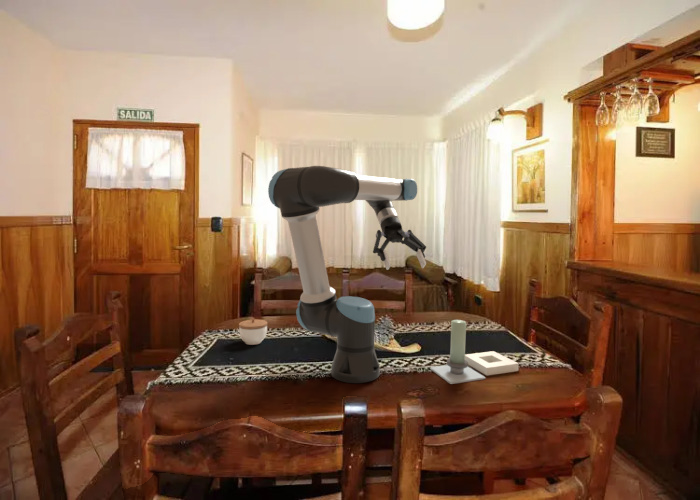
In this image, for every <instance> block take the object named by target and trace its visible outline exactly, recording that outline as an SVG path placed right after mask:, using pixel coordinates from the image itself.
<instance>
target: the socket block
mask: <svg viewBox="0 0 700 500" xmlns="http://www.w3.org/2000/svg"><path fill="white" fill-rule="evenodd" d="M465 360H466V361H467V362H468V366H470V368H471V367H472V369H474V370H475V371H477V372H479V373H480V374H481V373H482V375H485V376H494V375H499V374H506V373H514V372H518V371H519V363H518V362H516V361H514V360H512V359H511V358H509V357H506V356H505V355H502V354H500V353H499V352H496V351H494V350H492V351H490V350H489V351H484V352H476V353H468V354H466V353H465Z"/></svg>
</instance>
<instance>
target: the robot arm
mask: <svg viewBox="0 0 700 500" xmlns="http://www.w3.org/2000/svg"><path fill="white" fill-rule="evenodd" d="M267 192H268V193H267V194H268V199H269V201H270V203H271V204H272V205H274V207H276V208H277V209H279V210H280V214H281V215H280V216H281V218H283V219H284V220H285V221H286V222H287V223H288V229H289V232H290V237H291V240H292V241H291V243H292V246H293V250H294V254H295V259H296V264H297V269H298V273H299V278H300V282H301V283H300V284H301V287H302V291H303V292H302V293H301V294H300V297H299V298H300V299H299V301H298V302H297V305H296V306H297V308H296V310H295V311H296V312H295V313H296V314H295V315H296V319H297V322H298V324H299V325H300V326H301V327H302V328H303V329H305V330H307V331H309V332H311V333H316V334H317V333H318V334H321V335H325V336H328V337H329V336H330V337H334V338H336V351H335V353H334V357H333V360H332V363H331V369H330V372H331V376H332V378H334V379H335V380H336V381H340V382H343V383H349V384H365V383H369V382H373V381H375V380H377V379H378V378H379V376H380V374H381V372H380V371H381V368H380V364H379V360H378V358H377V357H378V356H377V353H376V351H375V329H376V328H375V327H376V326H375V324H376V323H375V321H376V315H375V306H374V304H373V303H372V301H370V300H368V299H366V298H362V297H359V296H350V295H347V296H346V295H345V296H340V297H338V298H337V294H336V289H335V288H333V287H332V286H330V283H329V282H330V281H329V277H328V271H327V266H326V261H325V256H324V251H323V247H322V241H321V237H320V231H319V226H318V221H317V214H318V213H319V212H320V208H321V207H328V206H333V205H339V204H340V205H341V204H350V203H353V202H354V201H365V202H366V203H367V204H368V205H369V206H370V207H371V209H373V210H374V213H375V216H376V218H377V221H378V224H379V226H380V229H377V231H376V234H375V242H374V246H373V250H372V253H373V254H376V255H377V256H378V257H379V259H380V261H382V262H383V264H384V266H385V269H386V271H388V270H389V269H390V268H391V266H392V263H391V261H390V258H389V256H388V253H387V250H386V248H387V246H388V245H389V243H393V244H394V243H398V244H399V243H401V244H402V245H405V246H407V247H408V248H410V249H411V250H412V251H414V252H415V255H416V258H417V259H418V262H419V264H420V267H421V269H424V268H425V266H426V265H427V261H426V259H425V257H426V255H425V253H424V252H425V250H426V249H427V246H426V244H424V243H423V242H422V241H421V240H420V239H419V238H418V237H417V236H416V235H415V234H414V232H412V230H411V229H408V230H406V231H404V230H403V225H402V223H401V221H400V219H399V216H398V213H397V211H396V209H395V207H394V205H393V202H394V201H397V202H398V201H404V202H405V201H412V200H414V199H416V197H417V194H418V185H417V181H416V180H415V179H413V178H391V177H384V176H381V177H380V176H373V175H364V174H356V173H355V172H354V171H353V170H349V169H342V168H336V167H331V166H324V165H311V166H301V167H288V168H285V169H281V170H278V171H276V172H275V173H274V174H273V176H272V177H271V179H270V181H269V184H268V190H267ZM392 201H393V202H392ZM382 237H383V238H385V240H384V242H383V243H382V244H381V246H380V241H381V238H382ZM379 246H380V247H379Z"/></svg>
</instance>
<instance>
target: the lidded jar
mask: <svg viewBox="0 0 700 500" xmlns="http://www.w3.org/2000/svg"><path fill="white" fill-rule="evenodd" d="M238 330H239V331H238V332H239V336H240V339H241V340H242V341H243V342H244V344H246V345H250V346H251V345H252V346H253V345H259V344H262V343H263V342H262V341H264V339H265V338H266V336H267V333H268V332H267V331H268V321H267V320H265V319H256V318H251V319H248V320H247V319H246V320H243V321H241V322H239V323H238Z"/></svg>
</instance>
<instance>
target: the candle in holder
mask: <svg viewBox="0 0 700 500" xmlns="http://www.w3.org/2000/svg"><path fill="white" fill-rule="evenodd" d="M450 322H451V323H450V325H451V326H450V328H451V329H450V350H449V351H450V352H449V354H450V355H449V358H447V359H446V365H448V366H450V372H451V373H453V374H457V375H461V374H463V373H464V368H467V367H469V365H468V362H467V361H466V360H465V355H466V336H467V321H465V320H461V319H453V320H451V321H450Z"/></svg>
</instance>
